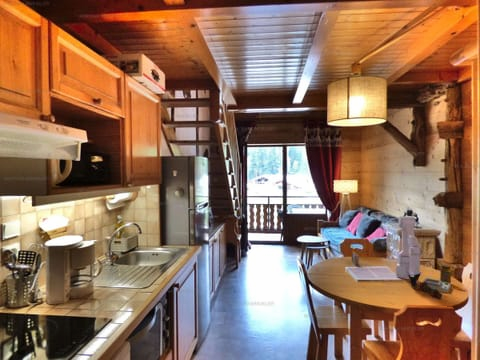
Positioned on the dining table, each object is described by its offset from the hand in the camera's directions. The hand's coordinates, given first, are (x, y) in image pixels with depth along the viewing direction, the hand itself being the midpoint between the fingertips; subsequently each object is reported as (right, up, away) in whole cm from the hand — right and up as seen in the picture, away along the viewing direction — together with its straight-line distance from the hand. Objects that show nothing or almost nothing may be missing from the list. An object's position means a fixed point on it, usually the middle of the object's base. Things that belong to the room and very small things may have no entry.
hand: (414, 285), depth 202 cm
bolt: (+4, -2, -12) cm, 12 cm away
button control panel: (+14, -2, 0) cm, 14 cm away
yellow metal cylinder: (+25, -2, +8) cm, 26 cm away
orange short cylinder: (0, -2, 0) cm, 2 cm away
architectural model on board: (-19, -1, +53) cm, 56 cm away
